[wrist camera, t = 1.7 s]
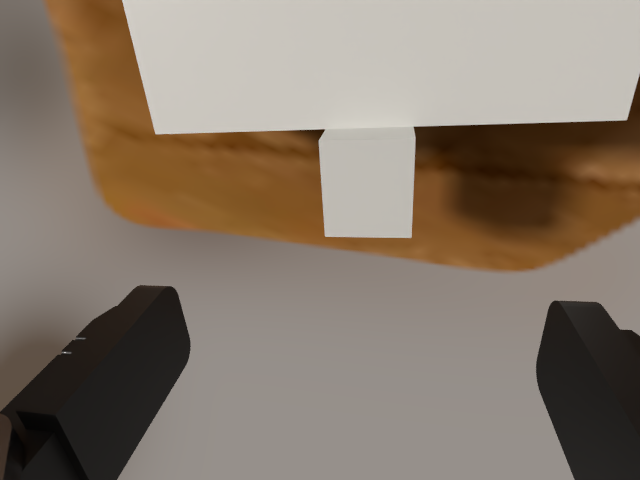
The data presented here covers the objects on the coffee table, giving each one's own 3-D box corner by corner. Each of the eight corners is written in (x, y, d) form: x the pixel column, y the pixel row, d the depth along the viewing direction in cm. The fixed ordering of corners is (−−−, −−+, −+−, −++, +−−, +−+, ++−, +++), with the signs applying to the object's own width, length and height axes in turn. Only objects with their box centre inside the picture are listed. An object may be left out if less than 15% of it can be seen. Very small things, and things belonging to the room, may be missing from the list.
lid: (96, -250, 14) (-1, -336, 11) (718, -378, 11) (865, -558, 8) (195, 199, 22) (157, 234, 18) (578, 199, 19) (620, 241, 15)
